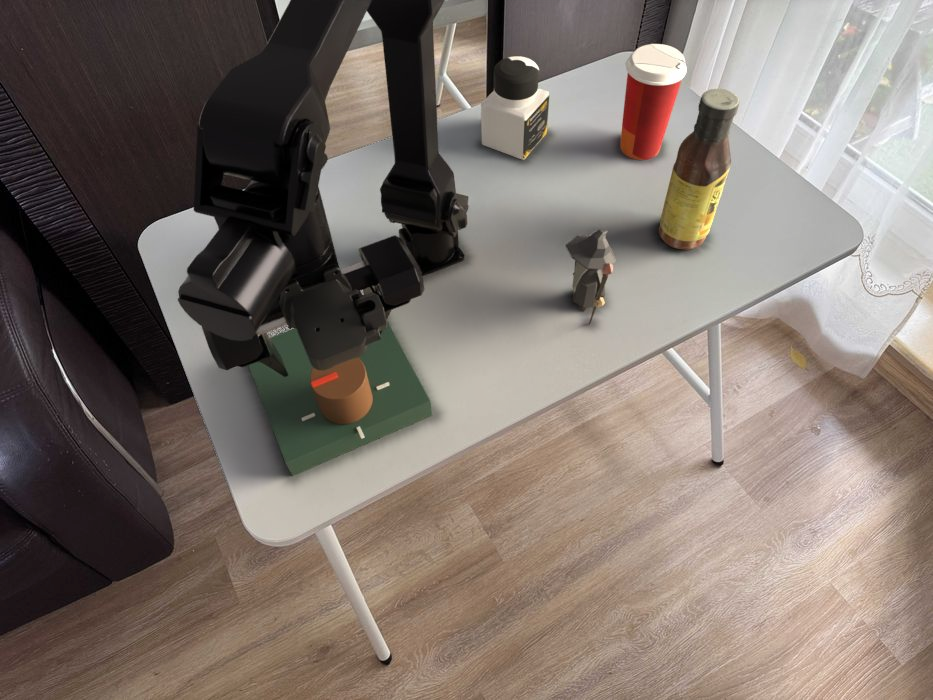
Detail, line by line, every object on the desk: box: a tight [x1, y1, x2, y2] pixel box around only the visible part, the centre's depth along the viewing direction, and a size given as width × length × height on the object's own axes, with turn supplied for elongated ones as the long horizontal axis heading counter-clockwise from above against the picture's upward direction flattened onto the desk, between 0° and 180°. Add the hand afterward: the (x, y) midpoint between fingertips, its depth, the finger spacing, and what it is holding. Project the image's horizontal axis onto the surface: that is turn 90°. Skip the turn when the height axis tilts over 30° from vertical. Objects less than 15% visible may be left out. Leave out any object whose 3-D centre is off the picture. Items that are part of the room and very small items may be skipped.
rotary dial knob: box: [310, 358, 373, 424], centre depth 73 cm, size 6×6×5 cm
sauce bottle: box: [658, 88, 740, 250], centre depth 84 cm, size 7×6×20 cm
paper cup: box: [620, 43, 688, 161], centre depth 97 cm, size 8×8×14 cm
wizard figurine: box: [565, 229, 617, 325], centre depth 81 cm, size 8×6×12 cm
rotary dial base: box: [248, 321, 433, 477], centre depth 78 cm, size 16×17×3 cm
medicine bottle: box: [480, 55, 550, 160], centre depth 99 cm, size 7×7×12 cm
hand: (331, 354), depth 69 cm, fingers open, 9 cm apart
